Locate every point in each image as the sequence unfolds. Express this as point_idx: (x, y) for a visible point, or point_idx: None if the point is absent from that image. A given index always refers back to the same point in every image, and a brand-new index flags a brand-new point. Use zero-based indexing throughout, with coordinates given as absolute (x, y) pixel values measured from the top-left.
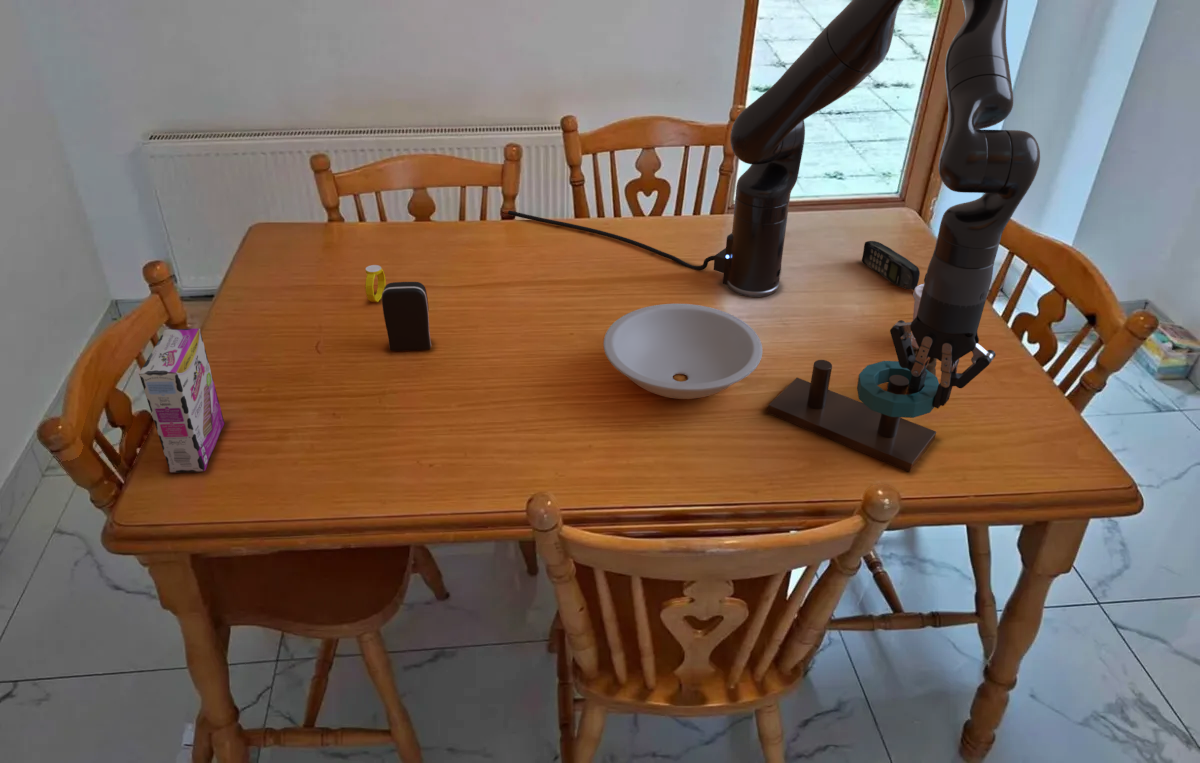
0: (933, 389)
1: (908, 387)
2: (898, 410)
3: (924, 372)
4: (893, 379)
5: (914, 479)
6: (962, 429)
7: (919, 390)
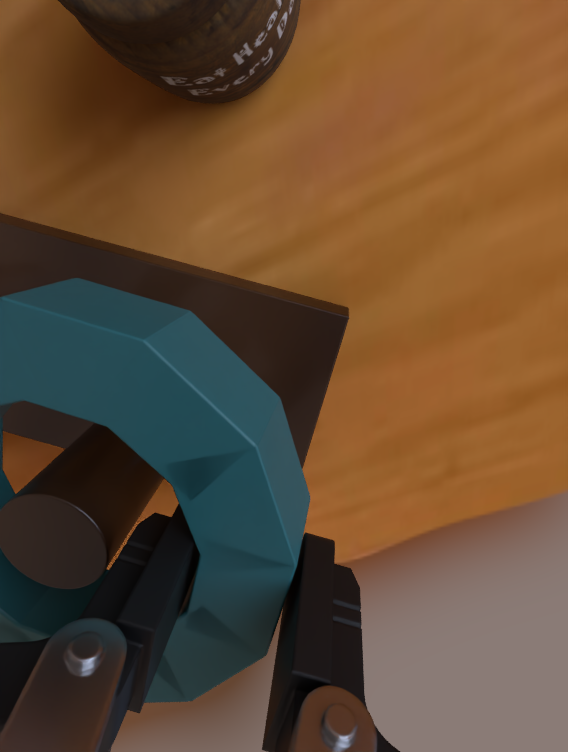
0: (256, 585)
1: (177, 88)
2: None
3: (138, 656)
4: (20, 548)
5: (309, 513)
6: (453, 191)
7: (184, 591)
